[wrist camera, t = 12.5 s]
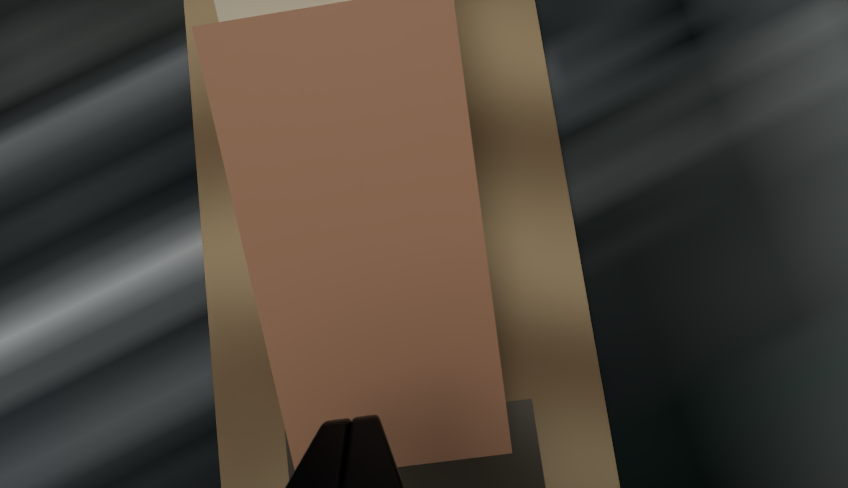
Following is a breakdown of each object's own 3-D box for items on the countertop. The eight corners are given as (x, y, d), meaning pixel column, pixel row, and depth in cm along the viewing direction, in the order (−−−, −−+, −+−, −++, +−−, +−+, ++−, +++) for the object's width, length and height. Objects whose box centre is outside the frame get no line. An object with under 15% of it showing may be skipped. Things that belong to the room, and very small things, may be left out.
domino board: (634, 618, 15) (647, 639, 14) (250, 660, 16) (235, 682, 15) (483, -255, 19) (484, -288, 18) (181, -199, 20) (165, -228, 19)
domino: (512, 453, 14) (451, -17, 11) (296, 479, 14) (191, 26, 11) (504, 415, 15) (449, -4, 13) (310, 440, 15) (220, 34, 13)
